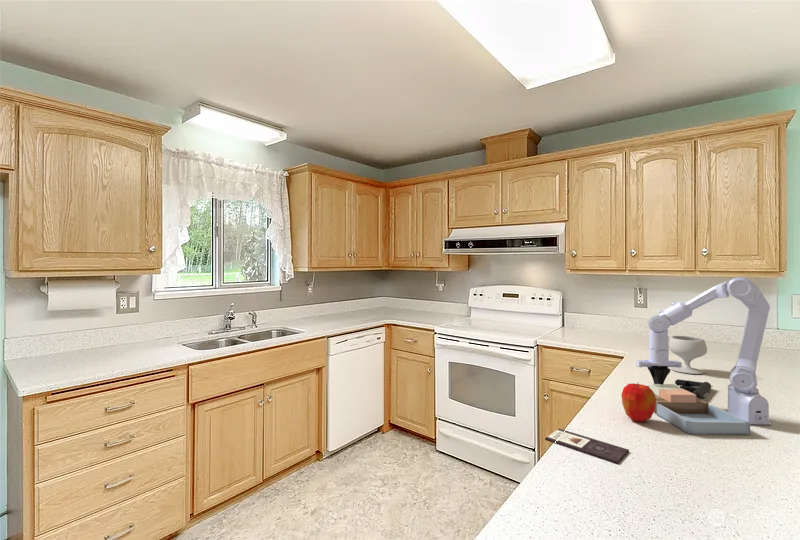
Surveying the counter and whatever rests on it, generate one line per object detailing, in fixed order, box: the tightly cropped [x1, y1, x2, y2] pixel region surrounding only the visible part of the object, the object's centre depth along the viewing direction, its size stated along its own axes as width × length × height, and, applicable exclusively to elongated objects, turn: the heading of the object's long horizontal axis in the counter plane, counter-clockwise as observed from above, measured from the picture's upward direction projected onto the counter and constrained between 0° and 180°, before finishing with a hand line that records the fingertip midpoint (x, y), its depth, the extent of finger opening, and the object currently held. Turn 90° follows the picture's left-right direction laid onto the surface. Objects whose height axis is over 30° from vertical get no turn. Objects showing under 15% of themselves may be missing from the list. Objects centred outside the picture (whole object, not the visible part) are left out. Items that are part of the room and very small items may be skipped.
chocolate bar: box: [544, 428, 630, 465], centre depth 102 cm, size 9×1×18 cm
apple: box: [621, 383, 656, 423], centre depth 118 cm, size 9×9×12 cm
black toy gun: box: [674, 378, 714, 399], centre depth 146 cm, size 3×20×16 cm
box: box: [656, 404, 751, 436], centre depth 115 cm, size 14×17×4 cm
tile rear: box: [648, 383, 682, 397], centre depth 131 cm, size 6×8×2 cm
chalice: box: [669, 335, 708, 375], centre depth 174 cm, size 14×14×15 cm
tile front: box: [660, 389, 696, 403], centre depth 125 cm, size 6×8×2 cm
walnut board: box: [647, 385, 710, 415], centre depth 131 cm, size 17×16×4 cm
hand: (658, 387), depth 135 cm, fingers closed, pressing on tile rear
